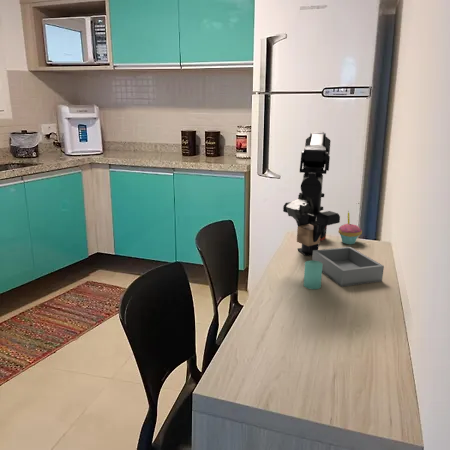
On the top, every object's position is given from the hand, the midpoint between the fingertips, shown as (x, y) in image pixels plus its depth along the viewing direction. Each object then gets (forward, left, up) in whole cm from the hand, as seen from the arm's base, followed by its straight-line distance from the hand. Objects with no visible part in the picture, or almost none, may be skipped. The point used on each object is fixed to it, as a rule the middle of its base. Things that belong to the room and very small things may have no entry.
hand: (308, 239), depth 138 cm
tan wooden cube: (0, 0, -1) cm, 1 cm away
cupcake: (-22, +30, -11) cm, 38 cm away
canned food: (-30, +20, -11) cm, 37 cm away
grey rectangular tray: (+4, +12, -11) cm, 16 cm away
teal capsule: (+10, -3, -11) cm, 15 cm away
